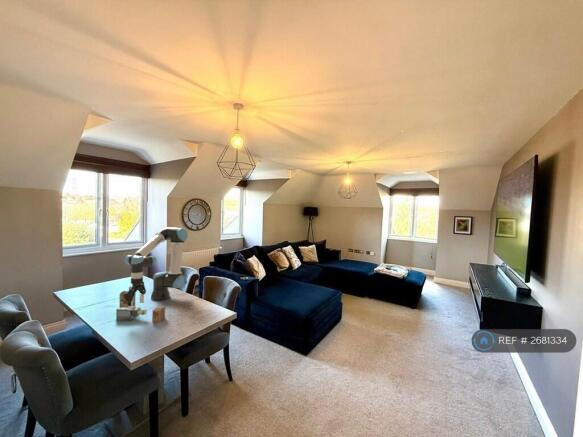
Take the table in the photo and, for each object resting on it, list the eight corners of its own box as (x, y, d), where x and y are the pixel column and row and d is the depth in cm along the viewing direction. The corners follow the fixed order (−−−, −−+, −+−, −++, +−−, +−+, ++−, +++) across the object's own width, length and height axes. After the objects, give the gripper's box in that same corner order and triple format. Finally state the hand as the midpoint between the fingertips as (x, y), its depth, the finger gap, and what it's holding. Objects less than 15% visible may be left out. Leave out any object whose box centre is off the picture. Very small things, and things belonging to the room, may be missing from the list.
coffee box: (135, 310, 192) (136, 290, 192) (132, 314, 186) (132, 293, 185) (122, 310, 191) (123, 290, 190) (118, 314, 184) (119, 293, 184)
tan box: (158, 317, 182) (158, 305, 182) (164, 317, 182) (165, 306, 182) (152, 322, 174) (152, 310, 174) (159, 322, 174) (159, 310, 174)
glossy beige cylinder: (124, 313, 180) (124, 307, 179) (147, 314, 180) (147, 307, 180) (119, 316, 175) (119, 309, 175) (143, 317, 175) (143, 310, 175)
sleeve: (121, 317, 180) (122, 305, 180) (135, 317, 181) (135, 306, 180) (116, 320, 174) (116, 309, 174) (130, 321, 175) (130, 309, 174)
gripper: (141, 273, 189) (141, 299, 189) (120, 282, 164) (119, 313, 164) (151, 273, 189) (150, 300, 189) (131, 282, 164) (130, 313, 165)
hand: (136, 306), depth 177 cm, fingers open, 13 cm apart
